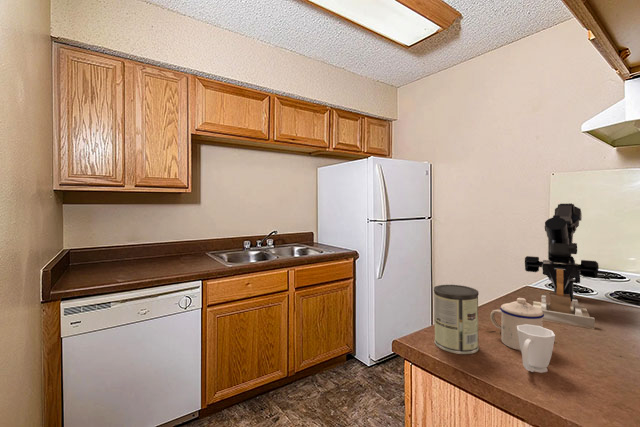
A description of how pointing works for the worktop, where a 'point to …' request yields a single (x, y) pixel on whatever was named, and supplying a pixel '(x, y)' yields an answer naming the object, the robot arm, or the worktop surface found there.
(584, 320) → the lane tray
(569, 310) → the tan wooden block
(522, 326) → the cup
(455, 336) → the coffee can
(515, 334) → the teacup with lid
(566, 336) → the worktop surface
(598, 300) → the worktop surface
